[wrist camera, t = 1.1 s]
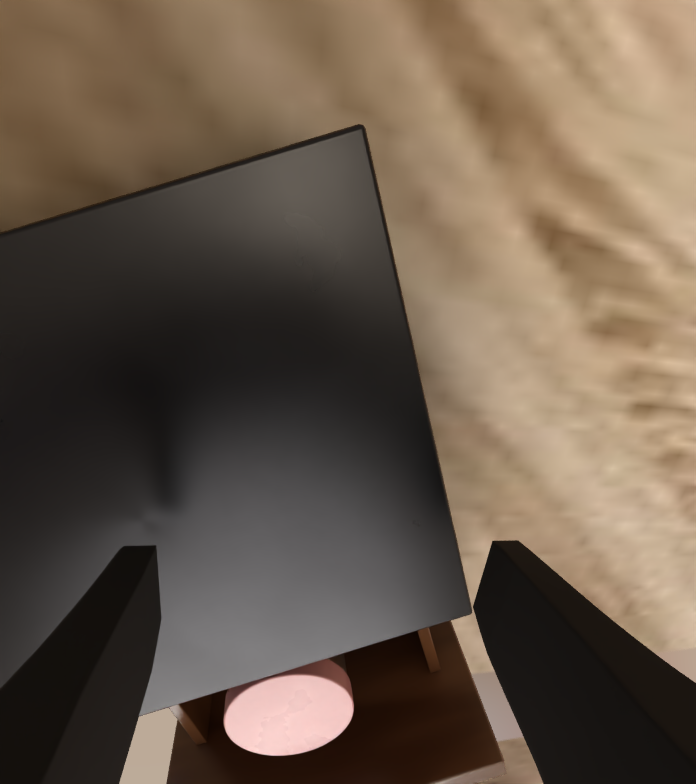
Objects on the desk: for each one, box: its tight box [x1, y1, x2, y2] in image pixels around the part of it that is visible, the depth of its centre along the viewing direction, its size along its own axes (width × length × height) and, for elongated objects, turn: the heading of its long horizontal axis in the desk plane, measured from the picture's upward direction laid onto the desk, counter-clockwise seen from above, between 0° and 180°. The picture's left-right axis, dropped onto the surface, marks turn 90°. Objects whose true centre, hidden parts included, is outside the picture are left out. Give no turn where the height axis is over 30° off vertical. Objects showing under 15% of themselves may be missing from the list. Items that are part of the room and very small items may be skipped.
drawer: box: [167, 620, 506, 784], centre depth 20 cm, size 16×14×8 cm
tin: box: [223, 653, 354, 756], centre depth 20 cm, size 5×5×5 cm
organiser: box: [0, 124, 472, 716], centre depth 15 cm, size 13×14×8 cm
